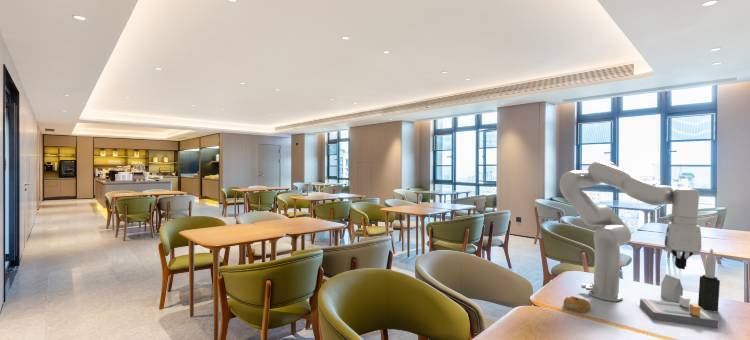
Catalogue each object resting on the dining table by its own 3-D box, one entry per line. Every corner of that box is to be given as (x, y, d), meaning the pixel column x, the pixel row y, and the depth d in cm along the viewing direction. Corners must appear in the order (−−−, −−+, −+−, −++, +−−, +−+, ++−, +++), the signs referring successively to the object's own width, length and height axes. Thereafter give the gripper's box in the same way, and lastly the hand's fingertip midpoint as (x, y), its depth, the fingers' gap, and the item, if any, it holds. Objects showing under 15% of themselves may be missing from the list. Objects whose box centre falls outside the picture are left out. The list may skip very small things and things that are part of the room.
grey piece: (674, 302, 158) (675, 279, 158) (660, 296, 165) (662, 274, 164) (682, 302, 159) (683, 279, 158) (668, 295, 165) (669, 274, 165)
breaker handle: (693, 315, 138) (693, 306, 138) (689, 311, 141) (689, 303, 141) (699, 316, 137) (700, 307, 137) (695, 312, 140) (696, 304, 140)
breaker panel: (653, 319, 141) (654, 303, 140) (639, 305, 154) (640, 290, 154) (718, 328, 134) (719, 311, 134) (698, 312, 148) (699, 296, 147)
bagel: (595, 309, 150) (595, 297, 150) (584, 316, 143) (584, 304, 143) (570, 301, 158) (570, 290, 158) (558, 308, 151) (558, 296, 151)
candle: (719, 311, 149) (723, 251, 148) (704, 310, 150) (708, 250, 149) (710, 306, 154) (714, 248, 153) (696, 305, 155) (700, 247, 154)
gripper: (664, 220, 138) (660, 268, 139) (713, 224, 133) (709, 273, 134) (656, 217, 145) (653, 262, 146) (702, 220, 140) (699, 267, 141)
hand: (680, 268), depth 140 cm, fingers closed
